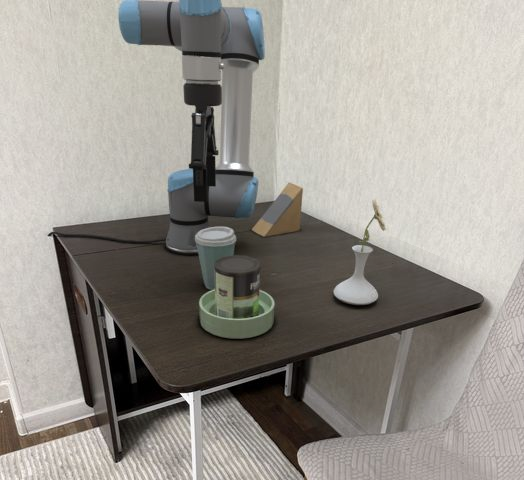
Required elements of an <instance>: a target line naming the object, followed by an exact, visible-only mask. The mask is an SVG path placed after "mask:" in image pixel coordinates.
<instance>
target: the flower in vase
mask: <svg viewBox="0 0 524 480" xmlns="http://www.w3.org/2000/svg"><path fill="white" fill-rule="evenodd" d="M371 204H372V208H373V211H374V215H373V217H372V218H371V219H370V221H369V222H368V224H367V225H366V226H365V227H366V228H365V229H364V233H363V238H362V239H361V240H359V241H358V243H361V244H356V245H353V246H352V247H351V250H352V251H353V254H354V256H355V258H354V259H355V264H354V266H355V267H354V272H353V274H352V275H351V277H349V278H347V279H345V280H343V281H341V282H340V283H338V284H337V285H336V286H335V287H334V289H333V295H334V296H335V298H336V299H337V300H339V301H341V302H342V303H344V304H348V305H353V306H366V305H370V304H373V303H375V302H376V301H377V300H378V298H379V293H378V291H377V289H376V288H375V287H374V286H373V285H372V284H371V282H369V281H368V280H367V279H366V278H365V275H364V273H365V272H364V271H365V265H366V263H367V259H368V258H369V256H370V254H371V253H373V251H374V249H373V248H372V247H371V246H368V245H365V243H366V242H368V241H370V237H371V236H370V231H369V230H368V228H369V227H370V225H371V224H372V222H373V221H374V220H376V221H377V223H378V225H379V227H380V229H381V231H383V232H384V231H387V228H386V223H385V222H384V221H383V218H384V217H383V214H382V213H381V212H380V207H379V205H378V204H377V200H376V199H372V201H371Z"/></svg>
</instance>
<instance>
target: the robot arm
mask: <svg viewBox="0 0 524 480" xmlns="http://www.w3.org/2000/svg"><path fill="white" fill-rule="evenodd" d="M117 14H118V15H117V17H118V27H119V31H120V35H121V37H122V39H123V40H124V42H125V43H127V44H129V45H138V46H162V47H163V46H164V47H172V48H173V47H174V48H175V49H176V50H178V51H180V52H181V55H182V56H181V69H182V70H181V71H182V79H183V80H184V81H185V83H183V86H182V87H183V88H182V89H183V102H184V104H185V105H187V106H192V107H193V106H194V107H195V108H194V109H195V110H194V112H192V113H191V143H190V144H191V145H190V146H191V147H190V148H191V151H190V163H188V168H184V169H180V170H177V171H174V172H172V173H170V174H169V175H168V176H167V197H168V209H169V223H170V224H169V227H168V232H167V235H166V237H165V238H157V239H150V240H133V239H123V238H116V237H112V236H104V235H96V234H85V233H64V232H59V231H50V232H49V233H48V234H47V237H51V236H52V235H58V236H63V237H84V238H86V237H87V238H97V239H104V240H111V241H115V242H122V243H132V244H152V243H159V242H165V247H166V250H168V251H169V252H171V253H173V254H177V255H183V256H195V255H199V254H198V249H197V244H196V241H195V235H196V234H197V233H198V232H199V231H201V230H203V229H206V228H210V227H211V226H210V224H209V217H221V218H235V219H239V218H241V219H242V218H243V219H245V218H246V219H247V218H250V217H251V216H252V215H253V213H254V210H255V206H256V202H257V196H258V192H259V189H258V188H259V178H257V177H256V176H255V175H254V174H255V171H254V169H253V168H252V167H251V165H250V150H251V149H250V148H251V129H252V127H251V125H252V107H253V106H252V104H253V83H254V80H253V79H254V73H255V72H256V71H257V70H258V69H259V67H260V61H263V60H265V59H266V56H265V54H266V50H265V49H266V48H265V35H264V25H263V17H262V14H261V12H260V10H259V9H257V8H252V7H245V6H242V7H240V6H239V7H237V6H236V7H234V6H223V3H222V0H179V1H164V0H163V1H162V0H123V1H121V2H120V4H119V7H118V13H117ZM219 82H221V84H219ZM219 106H220V107H221V108H220V138H219V139H220V141H219V142H220V143H219V149H217V141H216V140H217V139H216V131H215V130H216V128H215V127H216V126H215V114H214V113H215V109H214V107H219ZM216 156H219V163H218V165H216Z"/></svg>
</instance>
